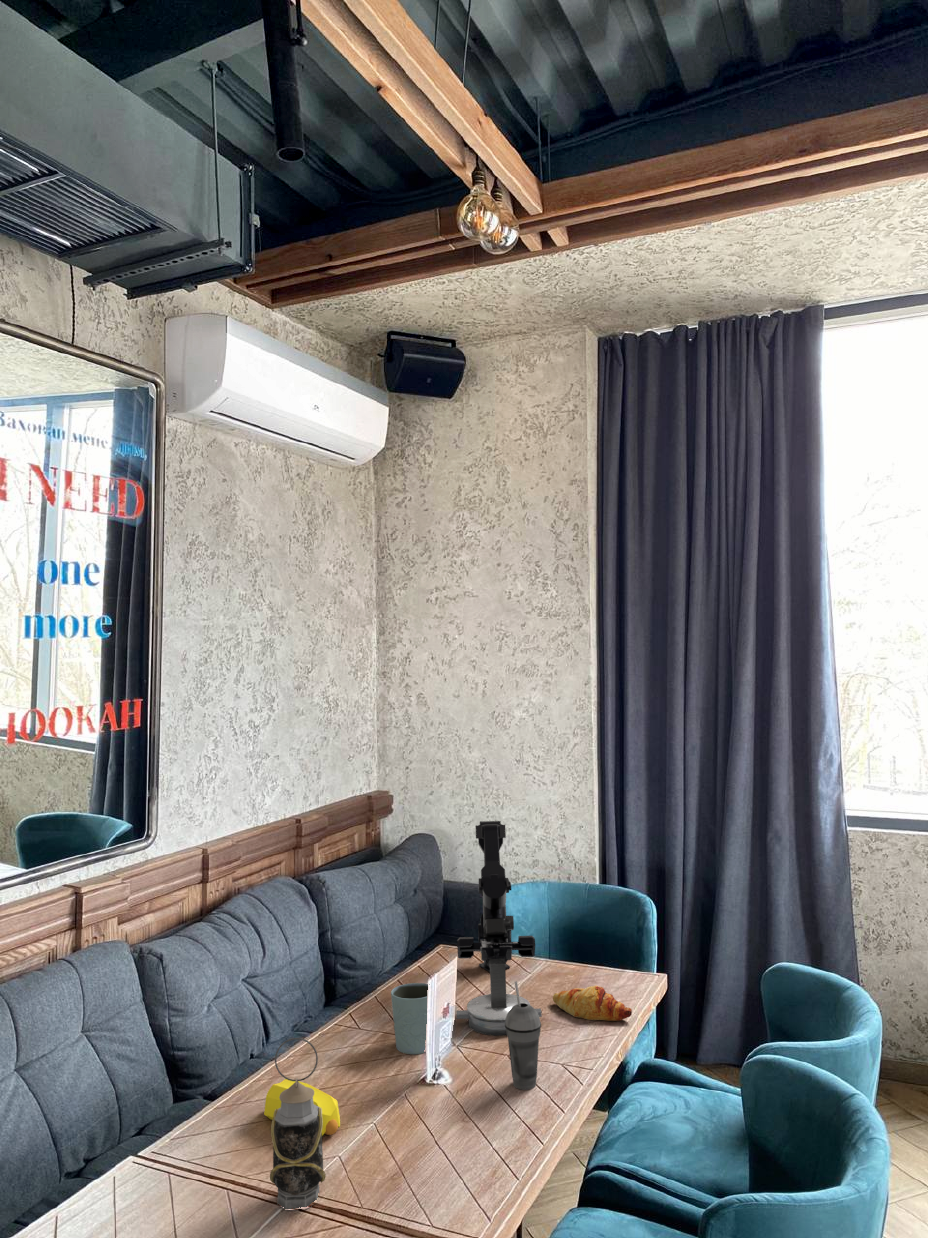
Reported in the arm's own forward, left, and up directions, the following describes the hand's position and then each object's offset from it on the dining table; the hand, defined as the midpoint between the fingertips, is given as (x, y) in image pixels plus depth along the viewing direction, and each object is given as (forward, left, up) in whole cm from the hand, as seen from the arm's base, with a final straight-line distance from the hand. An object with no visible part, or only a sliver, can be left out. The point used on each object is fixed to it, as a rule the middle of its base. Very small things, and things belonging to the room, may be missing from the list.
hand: (497, 981), depth 217 cm
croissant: (+9, +20, -9) cm, 24 cm away
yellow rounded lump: (+24, -56, -9) cm, 61 cm away
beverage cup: (+32, -13, -9) cm, 36 cm away
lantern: (+47, -64, -9) cm, 80 cm away
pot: (+3, -2, -8) cm, 9 cm away
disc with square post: (+3, -2, -5) cm, 6 cm away
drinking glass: (+4, -24, -9) cm, 25 cm away
